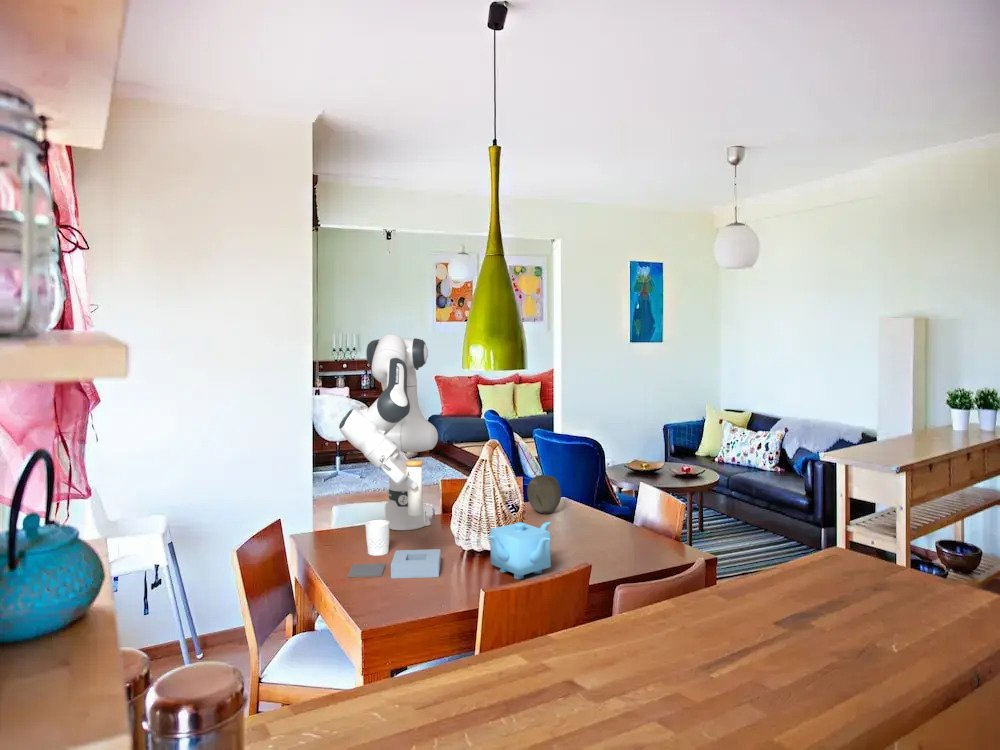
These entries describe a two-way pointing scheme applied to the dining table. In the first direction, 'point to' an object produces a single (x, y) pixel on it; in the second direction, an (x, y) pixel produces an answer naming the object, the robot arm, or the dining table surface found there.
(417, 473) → the plug
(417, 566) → the socket
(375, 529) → the white cup
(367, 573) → the mat
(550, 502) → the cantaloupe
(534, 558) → the teakettle
